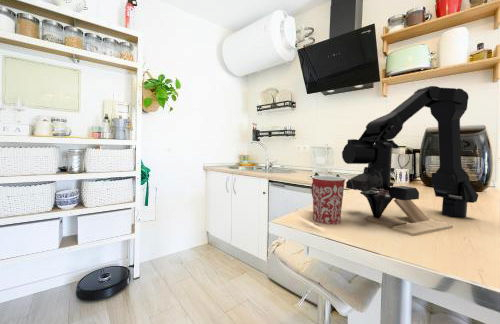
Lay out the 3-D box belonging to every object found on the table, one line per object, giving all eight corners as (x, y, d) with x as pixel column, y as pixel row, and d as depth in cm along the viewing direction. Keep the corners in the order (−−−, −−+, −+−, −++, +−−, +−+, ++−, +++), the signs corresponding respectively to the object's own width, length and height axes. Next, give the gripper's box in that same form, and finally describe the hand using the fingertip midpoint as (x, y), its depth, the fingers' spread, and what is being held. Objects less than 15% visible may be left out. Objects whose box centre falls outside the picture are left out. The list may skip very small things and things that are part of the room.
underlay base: (399, 216, 70) (399, 211, 70) (452, 232, 57) (452, 225, 57) (362, 221, 64) (362, 215, 64) (412, 240, 51) (412, 233, 51)
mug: (350, 228, 59) (352, 179, 58) (319, 230, 57) (321, 179, 56) (326, 214, 71) (328, 174, 70) (300, 215, 70) (301, 174, 69)
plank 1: (379, 216, 66) (379, 214, 66) (406, 225, 59) (407, 222, 59) (365, 218, 64) (365, 216, 64) (391, 227, 57) (391, 224, 57)
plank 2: (406, 199, 67) (408, 197, 67) (428, 221, 62) (430, 220, 61) (393, 200, 65) (395, 199, 65) (414, 224, 60) (416, 222, 59)
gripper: (333, 162, 68) (331, 211, 68) (391, 166, 50) (387, 232, 51) (360, 162, 72) (358, 208, 72) (422, 166, 54) (418, 227, 55)
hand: (376, 217), depth 63 cm, fingers closed, pressing on plank 1
